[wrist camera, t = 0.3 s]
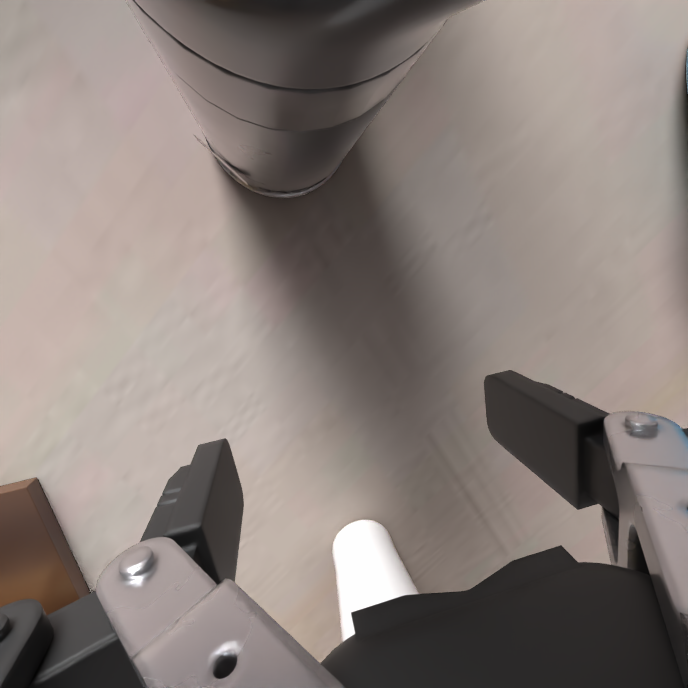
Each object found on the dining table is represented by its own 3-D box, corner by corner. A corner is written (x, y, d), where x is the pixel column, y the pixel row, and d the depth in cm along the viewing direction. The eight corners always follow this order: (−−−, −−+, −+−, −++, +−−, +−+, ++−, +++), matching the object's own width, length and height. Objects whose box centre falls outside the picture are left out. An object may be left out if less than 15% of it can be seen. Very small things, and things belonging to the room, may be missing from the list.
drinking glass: (356, 585, 34) (416, 824, 20) (306, 546, 32) (333, 782, 18) (410, 536, 34) (510, 743, 20) (363, 494, 32) (437, 691, 18)
